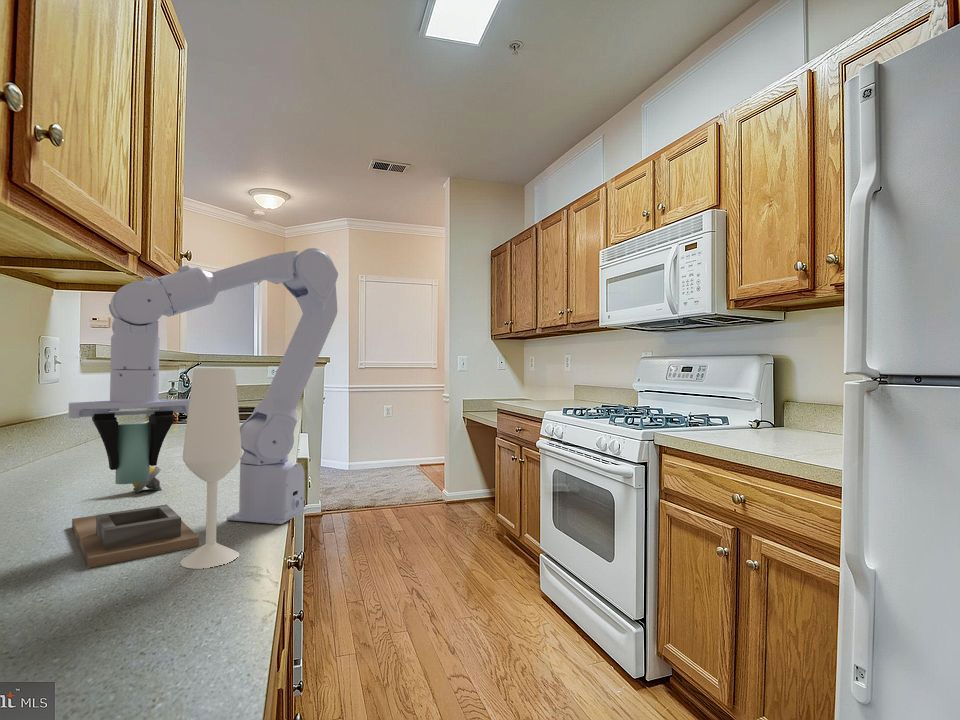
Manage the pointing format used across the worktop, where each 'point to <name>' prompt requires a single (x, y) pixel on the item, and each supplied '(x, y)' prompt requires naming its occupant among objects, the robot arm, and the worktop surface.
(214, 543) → the champagne flute
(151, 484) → the yellow cone with base
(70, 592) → the worktop surface
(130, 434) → the peg
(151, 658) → the worktop surface
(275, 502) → the robot arm
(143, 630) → the worktop surface
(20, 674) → the worktop surface
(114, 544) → the dock board
